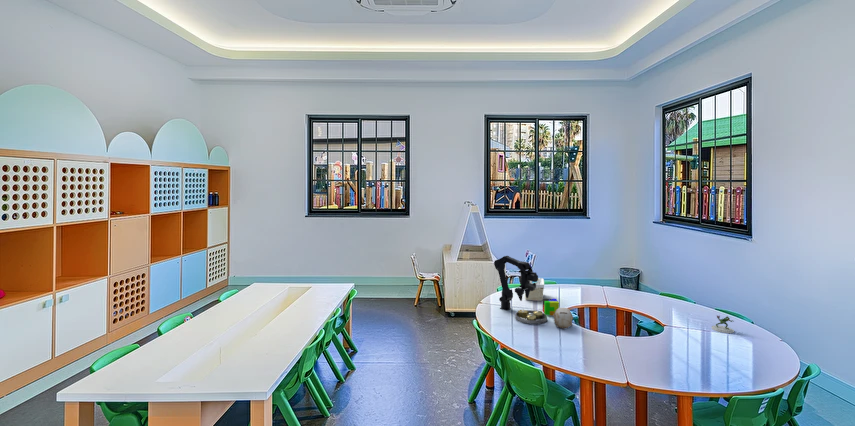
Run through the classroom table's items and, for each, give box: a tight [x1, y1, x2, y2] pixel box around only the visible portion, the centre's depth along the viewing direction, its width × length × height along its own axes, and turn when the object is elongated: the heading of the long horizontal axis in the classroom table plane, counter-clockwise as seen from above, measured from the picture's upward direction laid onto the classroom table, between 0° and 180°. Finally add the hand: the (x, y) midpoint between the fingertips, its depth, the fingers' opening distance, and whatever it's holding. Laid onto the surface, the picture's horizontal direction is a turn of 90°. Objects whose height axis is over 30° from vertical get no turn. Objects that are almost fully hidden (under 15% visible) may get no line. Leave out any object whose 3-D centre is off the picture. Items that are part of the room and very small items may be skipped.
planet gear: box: [517, 309, 529, 317], centre depth 287 cm, size 7×7×4 cm
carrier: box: [514, 309, 548, 325], centre depth 283 cm, size 22×22×5 cm
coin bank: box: [552, 307, 574, 330], centre depth 269 cm, size 16×17×13 cm
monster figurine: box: [711, 314, 735, 334], centre depth 258 cm, size 12×12×10 cm
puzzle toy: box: [542, 297, 560, 316], centre depth 294 cm, size 10×10×10 cm
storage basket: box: [524, 277, 545, 302], centre depth 336 cm, size 24×16×15 cm
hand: (524, 299), depth 291 cm, fingers open, 9 cm apart
